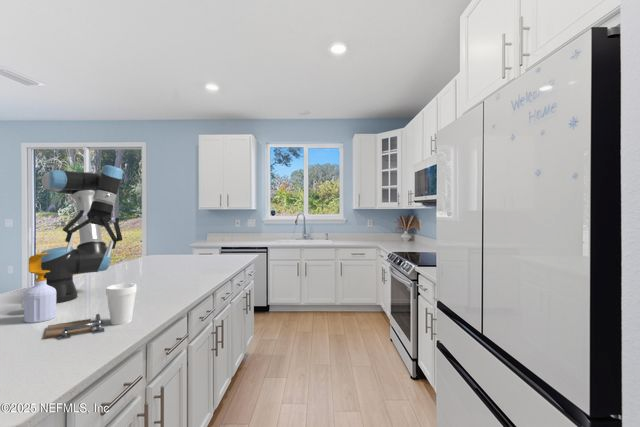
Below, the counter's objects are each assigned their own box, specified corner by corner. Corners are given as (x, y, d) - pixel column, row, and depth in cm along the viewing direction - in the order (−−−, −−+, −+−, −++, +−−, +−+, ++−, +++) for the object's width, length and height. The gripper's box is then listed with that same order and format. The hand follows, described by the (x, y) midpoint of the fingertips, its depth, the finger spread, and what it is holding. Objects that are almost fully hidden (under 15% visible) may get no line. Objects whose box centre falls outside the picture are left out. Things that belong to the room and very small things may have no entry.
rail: (60, 327, 111) (60, 318, 111) (102, 320, 118) (102, 312, 118) (58, 339, 101) (58, 329, 101) (104, 331, 108) (104, 322, 108)
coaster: (48, 327, 111) (48, 325, 111) (90, 321, 118) (90, 318, 118) (44, 339, 101) (44, 336, 101) (91, 331, 108) (91, 328, 108)
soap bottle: (37, 324, 114) (37, 255, 114) (17, 322, 116) (17, 254, 116) (62, 316, 123) (62, 251, 123) (43, 314, 125) (43, 251, 125)
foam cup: (104, 328, 111) (104, 290, 111) (107, 319, 119) (107, 284, 119) (135, 323, 115) (136, 287, 115) (137, 316, 124) (137, 282, 124)
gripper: (68, 193, 121) (50, 249, 117) (138, 210, 139) (125, 259, 134) (64, 194, 126) (47, 248, 122) (133, 210, 144) (119, 258, 140)
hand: (88, 254), depth 128 cm, fingers open, 13 cm apart
